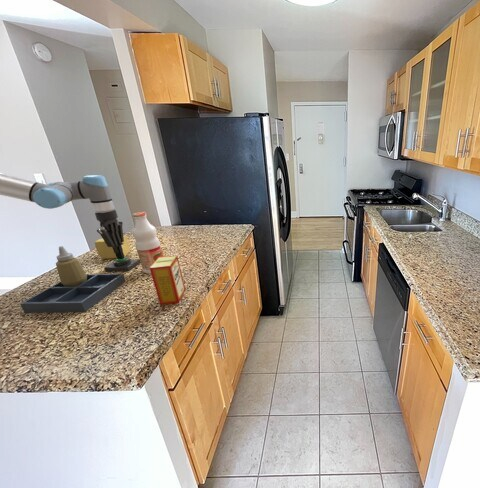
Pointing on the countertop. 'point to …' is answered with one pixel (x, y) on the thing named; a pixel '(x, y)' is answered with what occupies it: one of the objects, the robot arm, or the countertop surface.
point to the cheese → (110, 248)
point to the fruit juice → (146, 241)
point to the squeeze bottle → (69, 269)
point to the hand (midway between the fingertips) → (120, 258)
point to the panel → (122, 265)
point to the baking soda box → (168, 279)
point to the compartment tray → (74, 295)
